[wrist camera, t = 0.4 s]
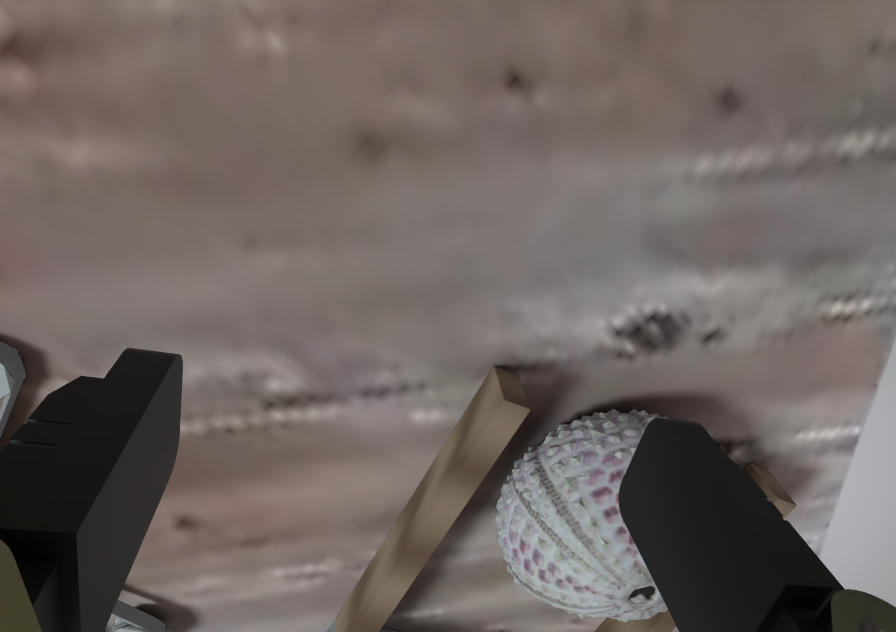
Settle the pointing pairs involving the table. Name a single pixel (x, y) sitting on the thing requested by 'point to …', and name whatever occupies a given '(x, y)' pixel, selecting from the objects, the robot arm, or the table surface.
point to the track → (448, 494)
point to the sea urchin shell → (578, 520)
